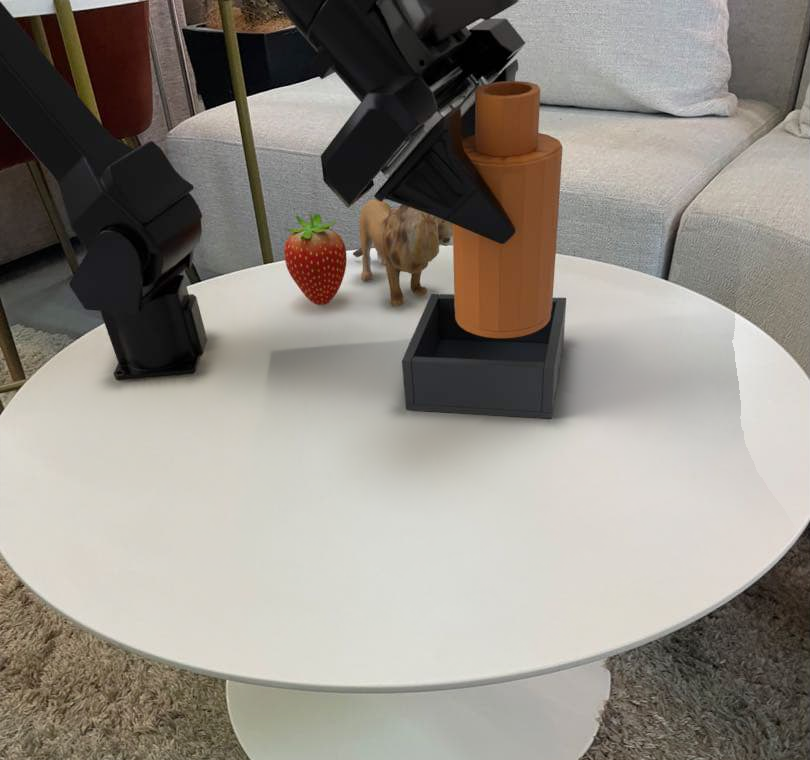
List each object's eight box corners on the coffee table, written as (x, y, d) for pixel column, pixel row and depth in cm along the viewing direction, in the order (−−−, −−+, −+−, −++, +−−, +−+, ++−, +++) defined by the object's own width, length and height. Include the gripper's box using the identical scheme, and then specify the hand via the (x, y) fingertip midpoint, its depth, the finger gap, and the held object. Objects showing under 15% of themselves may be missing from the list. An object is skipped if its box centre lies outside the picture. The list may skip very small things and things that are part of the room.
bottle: (459, 341, 51) (455, 108, 42) (451, 297, 56) (446, 79, 47) (558, 334, 51) (575, 99, 42) (542, 291, 56) (554, 71, 47)
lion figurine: (465, 303, 70) (463, 197, 64) (414, 322, 68) (407, 215, 62) (376, 253, 79) (367, 156, 73) (329, 268, 77) (316, 170, 71)
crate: (405, 410, 58) (401, 360, 55) (433, 339, 66) (431, 293, 63) (551, 419, 56) (554, 368, 53) (563, 345, 63) (566, 297, 61)
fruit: (283, 313, 71) (267, 221, 66) (307, 287, 75) (293, 199, 69) (340, 318, 70) (327, 225, 64) (361, 291, 73) (351, 201, 68)
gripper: (350, -123, 33) (592, 178, 37) (495, -152, 45) (665, 75, 49) (227, 85, 41) (437, 315, 45) (379, 12, 53) (534, 197, 57)
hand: (526, 217), depth 49 cm, fingers closed on bottle, 6 cm apart
